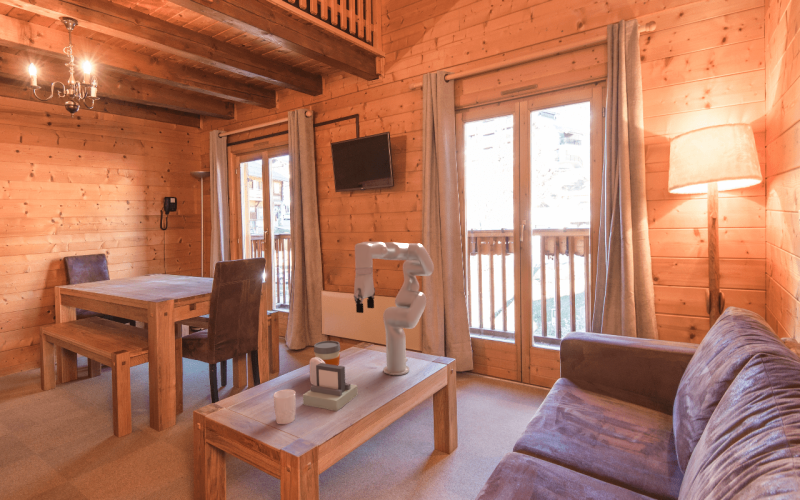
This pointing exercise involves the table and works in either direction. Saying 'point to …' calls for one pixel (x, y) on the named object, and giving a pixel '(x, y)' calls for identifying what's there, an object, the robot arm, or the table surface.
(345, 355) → the table surface
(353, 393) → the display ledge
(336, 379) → the thin grey panel
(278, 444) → the table surface
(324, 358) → the reusable coffee cup
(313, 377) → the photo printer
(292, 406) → the white cup
